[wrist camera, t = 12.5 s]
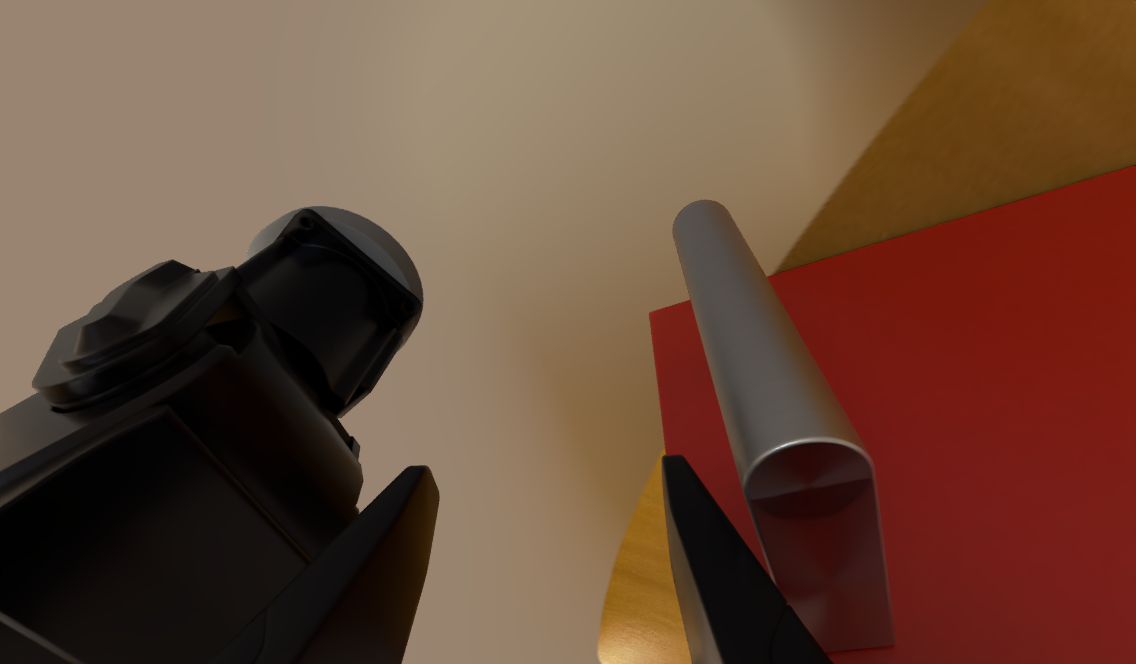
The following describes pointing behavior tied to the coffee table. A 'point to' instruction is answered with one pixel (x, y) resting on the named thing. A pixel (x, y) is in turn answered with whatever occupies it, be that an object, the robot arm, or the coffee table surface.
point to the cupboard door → (925, 427)
